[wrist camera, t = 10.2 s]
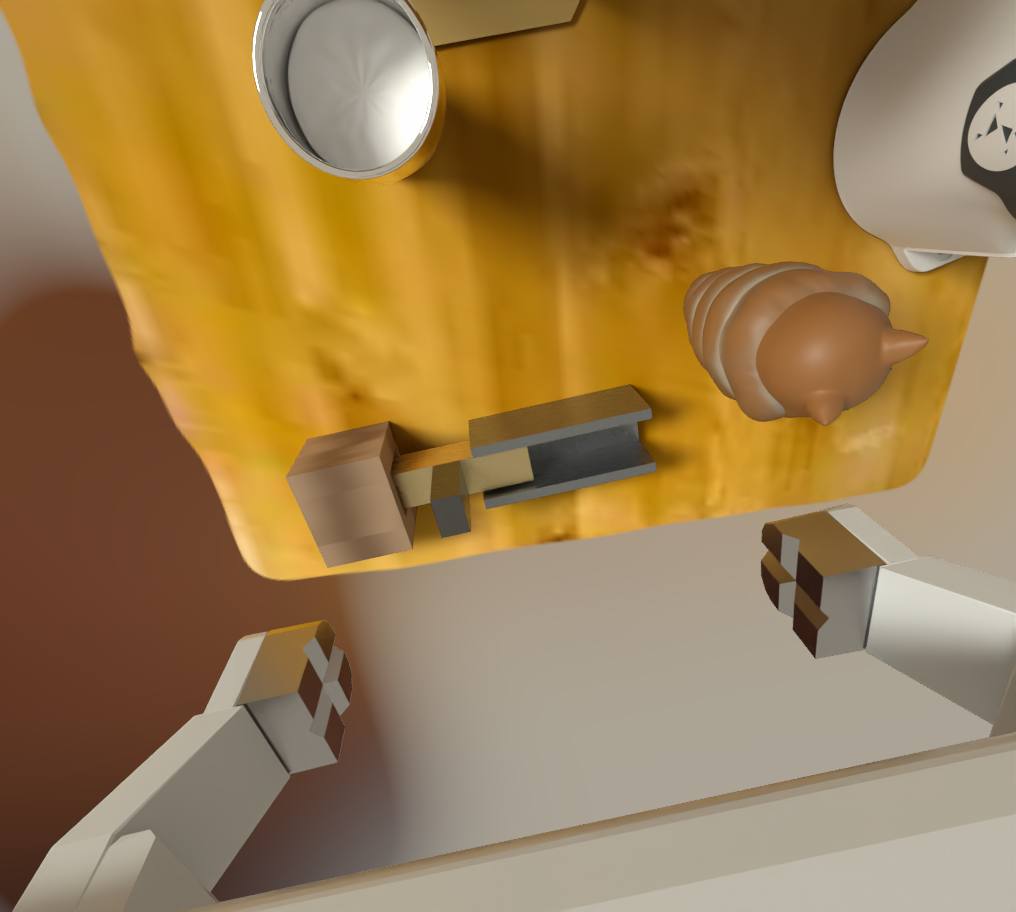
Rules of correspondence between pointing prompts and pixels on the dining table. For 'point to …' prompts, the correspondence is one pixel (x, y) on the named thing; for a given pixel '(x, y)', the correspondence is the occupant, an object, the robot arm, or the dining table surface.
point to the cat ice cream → (794, 338)
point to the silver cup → (351, 85)
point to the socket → (352, 495)
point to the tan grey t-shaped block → (455, 480)
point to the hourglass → (489, 17)
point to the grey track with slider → (568, 443)
